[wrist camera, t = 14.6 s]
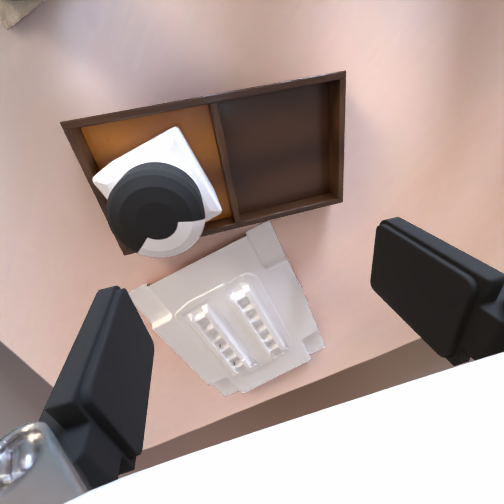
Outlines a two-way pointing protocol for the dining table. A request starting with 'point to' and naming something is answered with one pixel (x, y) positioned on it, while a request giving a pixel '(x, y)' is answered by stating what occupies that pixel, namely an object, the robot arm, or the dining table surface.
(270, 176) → the dark wooden divided tray
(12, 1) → the condiment
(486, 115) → the dining table surface
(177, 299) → the tray
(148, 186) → the medicine bottle
